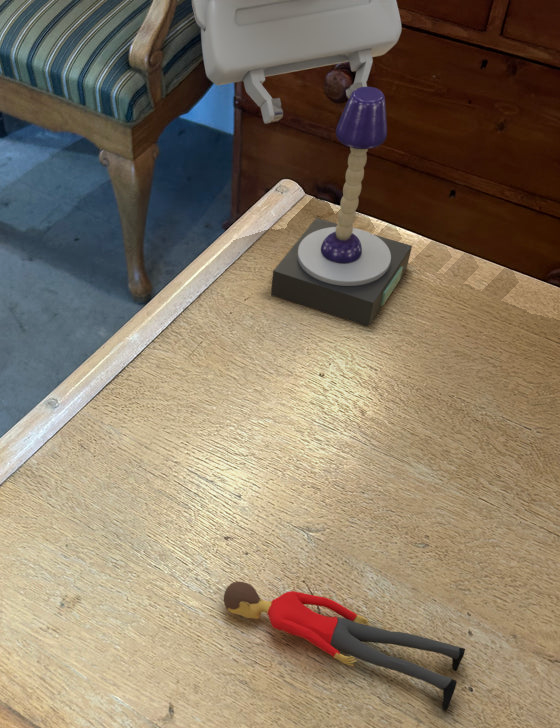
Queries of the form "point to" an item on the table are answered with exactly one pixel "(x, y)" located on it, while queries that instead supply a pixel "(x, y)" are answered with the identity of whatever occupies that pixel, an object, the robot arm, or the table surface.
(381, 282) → the kitchen scale
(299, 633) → the person figure
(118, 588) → the table surface
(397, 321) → the table surface
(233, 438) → the table surface
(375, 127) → the toy lamp
